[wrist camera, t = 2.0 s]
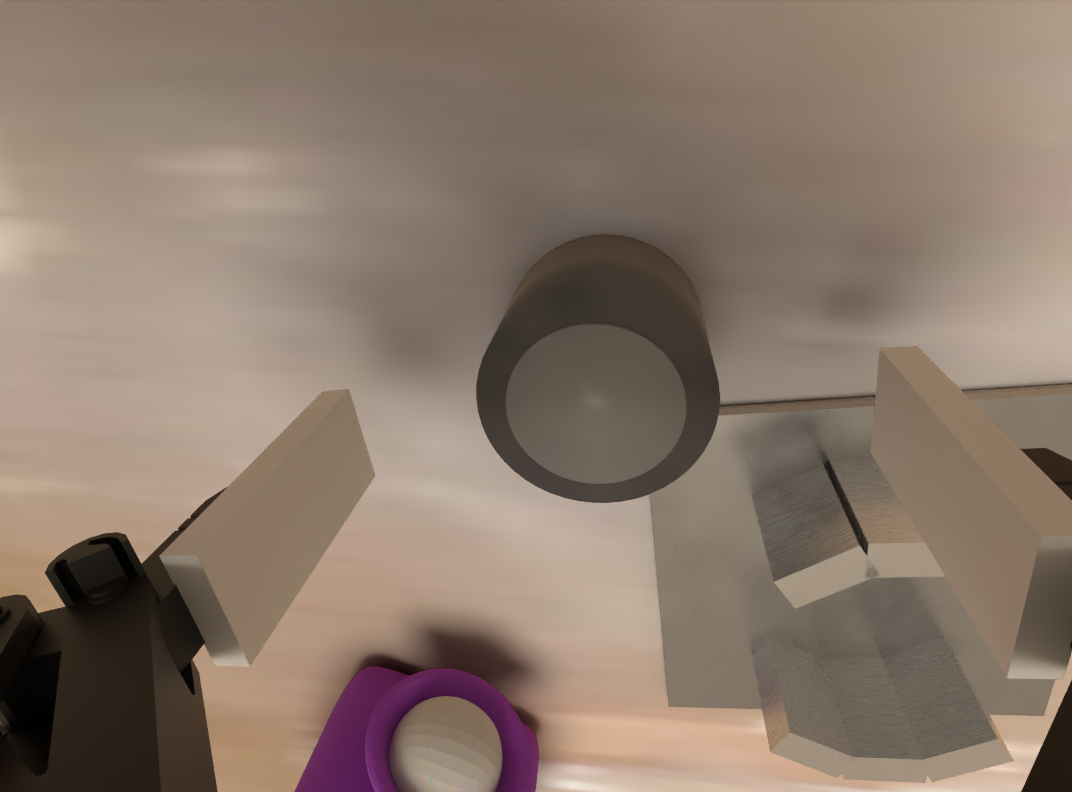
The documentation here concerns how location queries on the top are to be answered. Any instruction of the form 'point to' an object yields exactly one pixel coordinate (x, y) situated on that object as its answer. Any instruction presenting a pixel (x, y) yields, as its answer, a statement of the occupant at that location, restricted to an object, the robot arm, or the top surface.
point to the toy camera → (422, 737)
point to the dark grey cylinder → (600, 373)
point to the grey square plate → (833, 593)
